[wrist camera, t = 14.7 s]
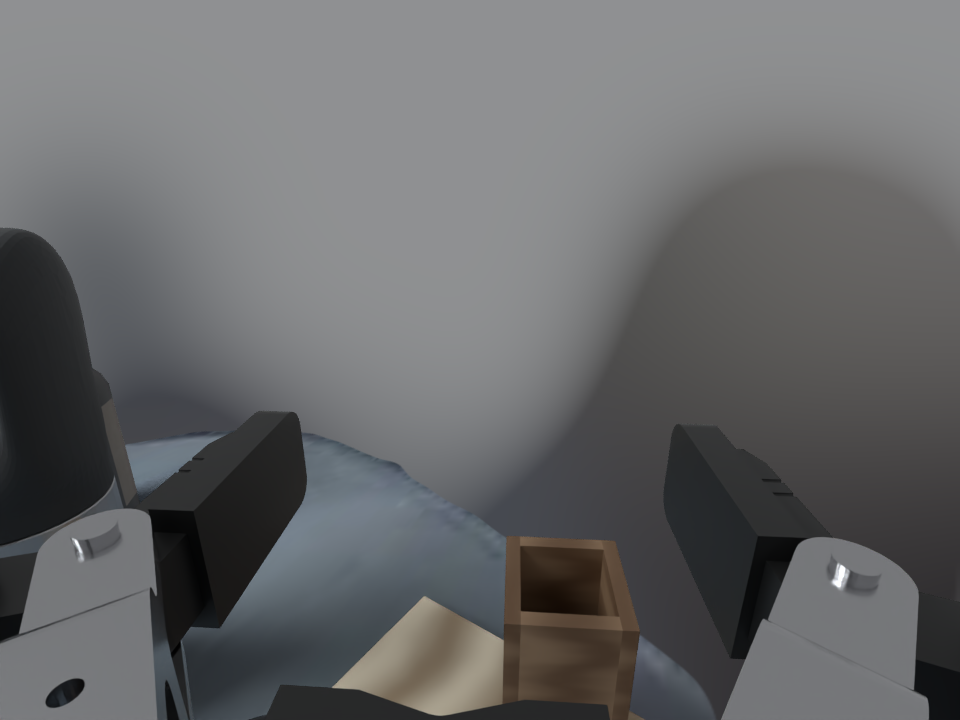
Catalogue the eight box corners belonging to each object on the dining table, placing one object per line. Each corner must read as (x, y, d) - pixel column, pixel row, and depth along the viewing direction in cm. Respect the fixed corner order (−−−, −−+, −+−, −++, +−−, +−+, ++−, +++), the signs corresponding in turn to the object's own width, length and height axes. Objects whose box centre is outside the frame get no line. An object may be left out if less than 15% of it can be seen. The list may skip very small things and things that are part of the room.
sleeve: (500, 812, 29) (504, 623, 24) (503, 703, 35) (506, 535, 30) (613, 821, 28) (639, 631, 24) (596, 710, 34) (615, 541, 30)
